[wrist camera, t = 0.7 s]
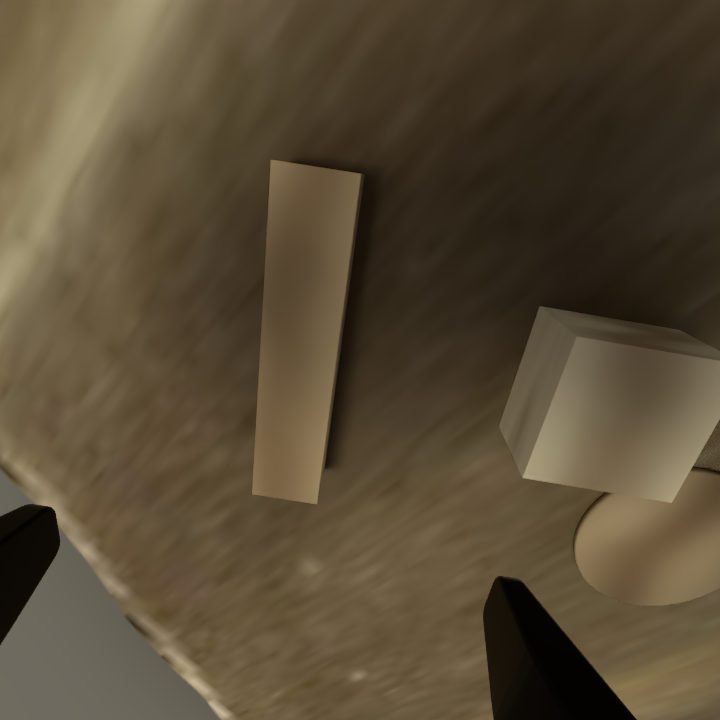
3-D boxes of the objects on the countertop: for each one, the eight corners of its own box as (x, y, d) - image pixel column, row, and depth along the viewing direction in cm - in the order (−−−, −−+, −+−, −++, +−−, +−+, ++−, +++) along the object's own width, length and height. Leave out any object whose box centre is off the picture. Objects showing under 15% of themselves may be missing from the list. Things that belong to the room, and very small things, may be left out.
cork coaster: (794, 483, 20) (801, 488, 20) (707, 610, 24) (712, 616, 24) (610, 454, 20) (614, 459, 20) (550, 585, 24) (552, 592, 24)
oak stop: (364, 174, 16) (360, 174, 14) (324, 470, 22) (316, 504, 19) (287, 162, 16) (270, 159, 14) (266, 461, 22) (252, 494, 19)
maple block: (676, 328, 18) (750, 366, 14) (620, 445, 20) (671, 502, 17) (538, 304, 18) (576, 336, 14) (498, 424, 20) (522, 478, 17)
